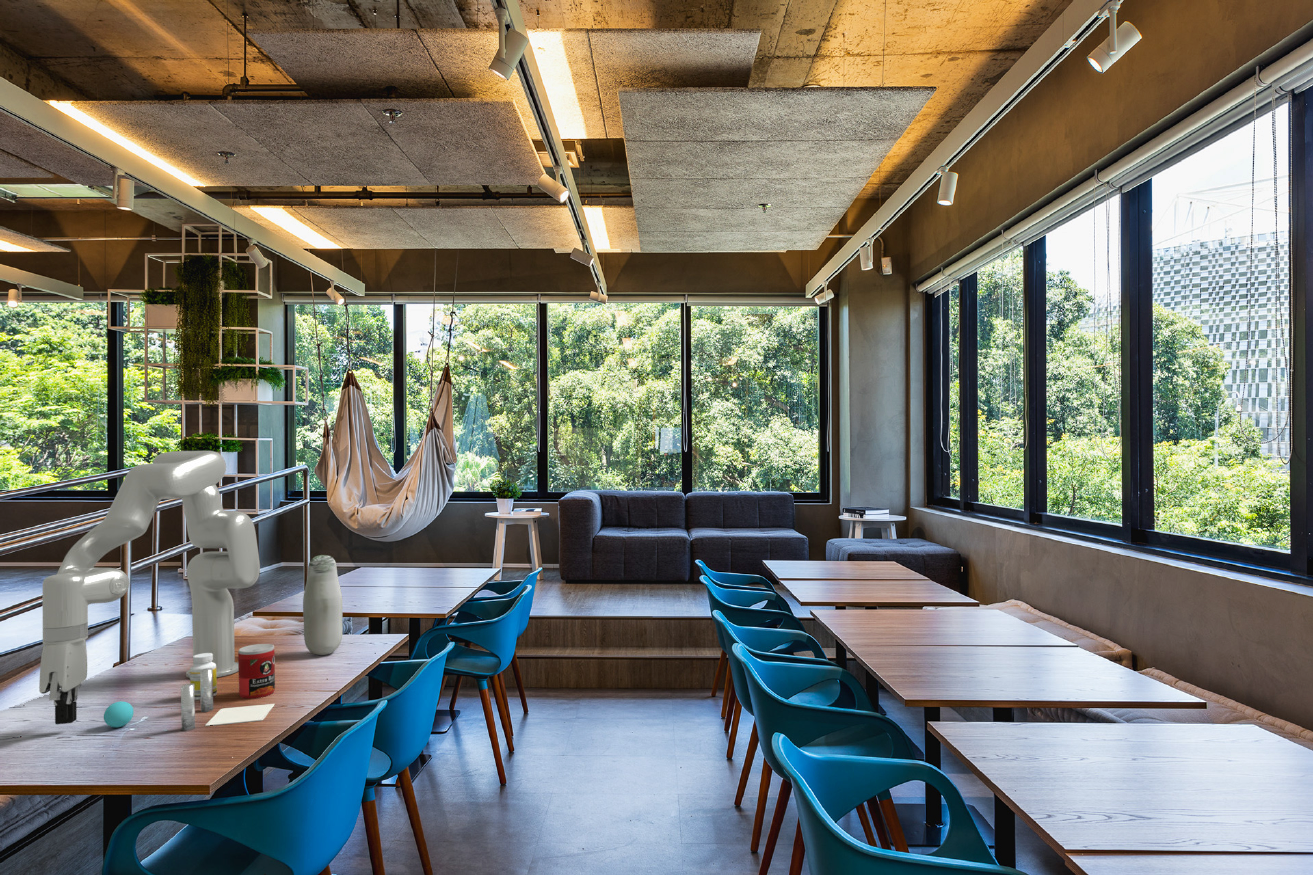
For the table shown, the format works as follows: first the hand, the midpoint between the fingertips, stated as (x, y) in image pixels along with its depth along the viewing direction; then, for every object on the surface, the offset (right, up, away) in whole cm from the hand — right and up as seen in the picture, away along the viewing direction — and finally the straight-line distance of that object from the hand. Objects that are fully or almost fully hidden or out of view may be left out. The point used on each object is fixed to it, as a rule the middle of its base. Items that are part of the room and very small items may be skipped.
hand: (65, 722), depth 162 cm
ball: (+9, +1, +2) cm, 10 cm away
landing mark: (+32, -1, +8) cm, 33 cm away
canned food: (+28, -2, +23) cm, 36 cm away
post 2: (+22, -2, +12) cm, 25 cm away
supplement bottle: (+16, -2, +22) cm, 27 cm away
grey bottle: (+28, -3, +59) cm, 66 cm away
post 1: (+25, -1, 0) cm, 25 cm away
